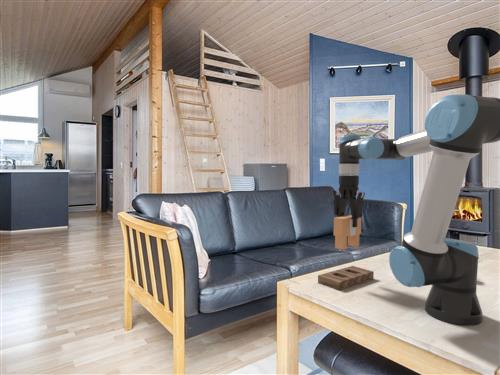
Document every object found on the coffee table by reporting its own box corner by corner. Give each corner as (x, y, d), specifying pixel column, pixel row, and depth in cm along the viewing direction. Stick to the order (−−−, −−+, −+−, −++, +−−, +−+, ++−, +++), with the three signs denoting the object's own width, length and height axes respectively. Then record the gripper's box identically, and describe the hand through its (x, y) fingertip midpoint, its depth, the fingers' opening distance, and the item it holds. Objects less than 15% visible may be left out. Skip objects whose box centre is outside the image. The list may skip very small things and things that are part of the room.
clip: (341, 250, 130) (342, 218, 129) (333, 248, 133) (333, 217, 132) (360, 246, 137) (361, 216, 136) (352, 244, 140) (352, 215, 139)
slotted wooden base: (338, 290, 125) (339, 282, 125) (317, 282, 133) (318, 275, 133) (373, 278, 138) (373, 271, 138) (352, 272, 146) (352, 265, 146)
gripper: (373, 175, 129) (372, 236, 130) (337, 174, 142) (336, 230, 144) (362, 175, 124) (360, 239, 125) (325, 174, 138) (324, 232, 139)
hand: (347, 234), depth 135 cm, fingers closed on clip, 4 cm apart
